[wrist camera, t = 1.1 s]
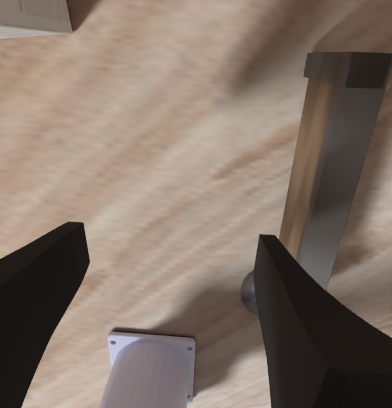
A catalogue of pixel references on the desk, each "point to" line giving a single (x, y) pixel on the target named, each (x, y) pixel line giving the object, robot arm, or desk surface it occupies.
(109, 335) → the robot arm
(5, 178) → the desk surface
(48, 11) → the small box
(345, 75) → the gate leaf
